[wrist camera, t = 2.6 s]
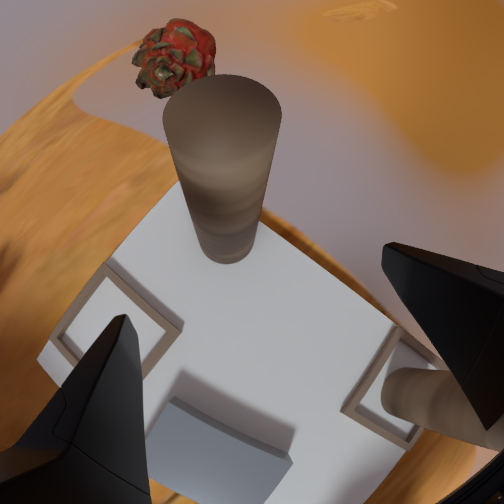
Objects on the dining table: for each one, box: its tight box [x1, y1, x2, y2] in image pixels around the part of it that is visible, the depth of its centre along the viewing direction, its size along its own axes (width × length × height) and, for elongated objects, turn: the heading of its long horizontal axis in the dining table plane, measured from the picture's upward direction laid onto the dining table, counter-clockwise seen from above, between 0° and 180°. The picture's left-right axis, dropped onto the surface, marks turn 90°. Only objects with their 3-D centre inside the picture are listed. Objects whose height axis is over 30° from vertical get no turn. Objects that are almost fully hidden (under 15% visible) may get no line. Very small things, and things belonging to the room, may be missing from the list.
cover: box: [145, 396, 293, 504], centre depth 16 cm, size 9×6×2 cm, turn 61°
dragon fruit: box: [132, 18, 216, 99], centre depth 24 cm, size 8×8×12 cm
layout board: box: [36, 181, 450, 504], centre depth 19 cm, size 28×20×2 cm
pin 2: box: [381, 367, 504, 452], centre depth 13 cm, size 4×4×13 cm
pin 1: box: [163, 74, 282, 264], centre depth 15 cm, size 4×4×13 cm
